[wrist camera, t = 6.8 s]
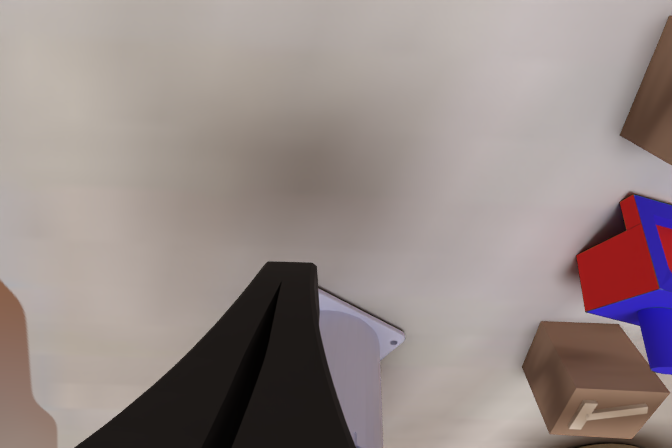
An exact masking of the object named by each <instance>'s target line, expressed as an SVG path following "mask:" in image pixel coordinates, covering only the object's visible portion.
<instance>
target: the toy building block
mask: <svg viewBox="0 0 672 448" xmlns="http://www.w3.org/2000/svg"><path fill="white" fill-rule="evenodd" d="M619 203H620V207H621V211H622V215H623V219H624V223H625V227H626V231H624V232H622V233H620V234H618V235H616V236H614V237H612V238H610V239H608V240H606V241H604V242H602V243H600V244H598V245H596V246H594V247H592V248H590V249H588V250H586V251H584V252H582V253H580V254H578V255H576V258H577V264H578V270H579V276H580V282H581V288H582V294H583V300H584V307H585V312H587V313H591V314H595V315H599V316H603V317H607V318H611V319H615V320H619V321H623V322H627V323H631V324H634V325H638V326H640V327H641V332H642V336H643V340H644V344H645V348H646V353H647V357H648V361H649V365H650V369H651V371H653V372H656V373H661V374H671V375H672V205H670V204H667V203H663V202H660V201H656V200H653V199H649V198H645V197H642V196H638V195H635V194H633V195H631V196H629V197H627V198H626V199H624V200H622V201H621V202H619Z"/></svg>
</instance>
